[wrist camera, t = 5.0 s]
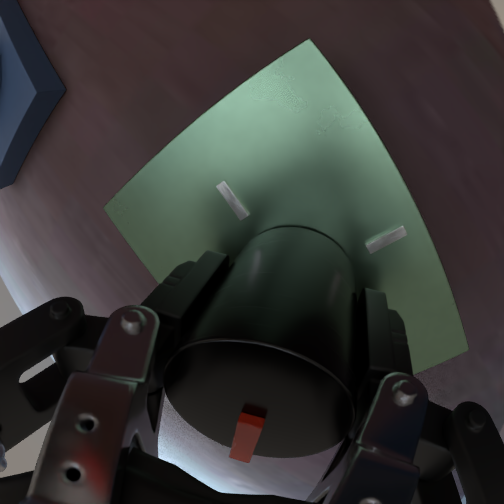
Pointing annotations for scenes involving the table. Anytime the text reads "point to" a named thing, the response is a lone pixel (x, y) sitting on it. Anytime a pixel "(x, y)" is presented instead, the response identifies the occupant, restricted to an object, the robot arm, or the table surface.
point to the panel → (294, 194)
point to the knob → (273, 350)
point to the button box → (22, 89)
